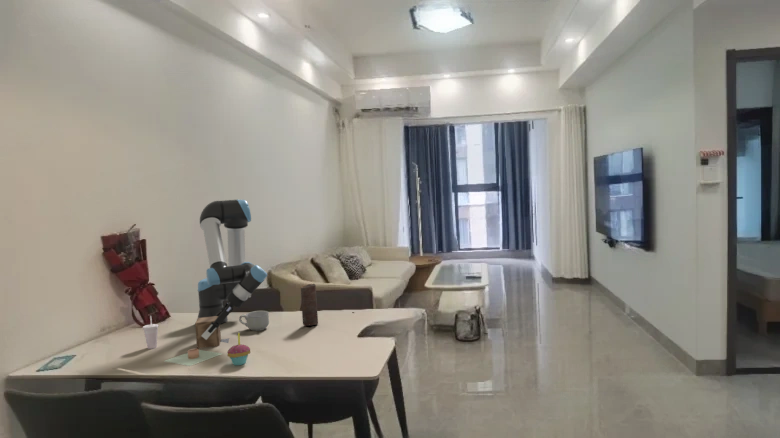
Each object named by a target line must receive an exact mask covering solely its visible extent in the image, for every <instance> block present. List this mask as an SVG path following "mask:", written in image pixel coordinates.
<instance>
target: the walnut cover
mask: <svg viewBox="0 0 780 438" xmlns="http://www.w3.org/2000/svg"><path fill="white" fill-rule="evenodd" d="M217 317H218V316H213V317H203V318H198V317H197V318H198V319H197V318H196V321H195V326H194V327H195V338H196V348H198V349H203V348H211V347H212V348H213V347H219V346H220V344H221V343H222V342H221V339H222V336H221V333H222V332H221V324H220V325H219V327H218V328H216V329H215V331H214V332H213V333H212V334H211V335H210V336H209V337H208V339H207V340H206V339H204V338H203V337H202V336H201V335H202V334H203V333H204V332H205V331H206V330H207V329H208V327H209V326H210V325H211V322H214V321H215V320H216V319H217Z"/></svg>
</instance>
